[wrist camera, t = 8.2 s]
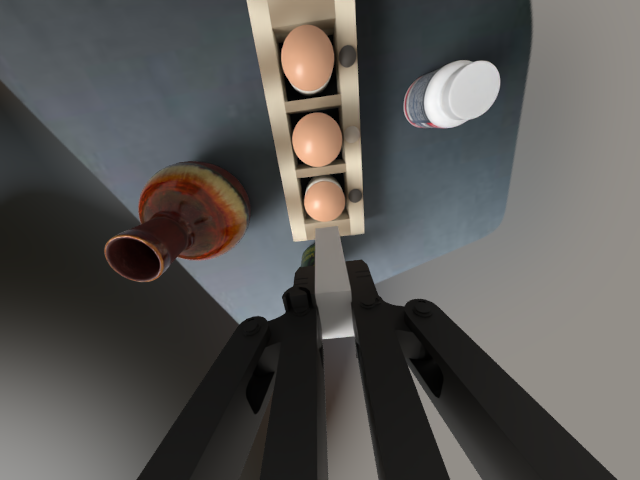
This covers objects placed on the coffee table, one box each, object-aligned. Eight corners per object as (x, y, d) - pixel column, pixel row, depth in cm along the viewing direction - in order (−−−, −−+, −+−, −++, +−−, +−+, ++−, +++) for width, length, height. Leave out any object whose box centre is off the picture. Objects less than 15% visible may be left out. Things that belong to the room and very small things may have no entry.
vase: (274, 196, 31) (238, 254, 17) (229, 251, 34) (170, 335, 20) (199, 136, 27) (79, 146, 14) (158, 203, 31) (30, 265, 17)
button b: (293, 118, 24) (288, 116, 20) (336, 112, 24) (340, 109, 20) (300, 163, 26) (296, 169, 22) (339, 157, 26) (344, 163, 22)
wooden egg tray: (257, 17, 23) (245, -5, 19) (348, 2, 22) (354, -23, 18) (296, 229, 33) (293, 242, 29) (359, 221, 32) (364, 234, 29)
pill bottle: (404, 133, 27) (439, 135, 20) (400, 82, 25) (438, 61, 17) (449, 121, 27) (505, 118, 19) (449, 68, 25) (512, 40, 17)
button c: (303, 176, 29) (301, 184, 25) (339, 172, 29) (343, 179, 25) (308, 211, 31) (307, 223, 27) (342, 207, 31) (346, 219, 27)
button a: (283, 46, 23) (276, 29, 19) (328, 39, 23) (331, 20, 19) (291, 99, 25) (286, 94, 21) (333, 93, 25) (336, 86, 21)
